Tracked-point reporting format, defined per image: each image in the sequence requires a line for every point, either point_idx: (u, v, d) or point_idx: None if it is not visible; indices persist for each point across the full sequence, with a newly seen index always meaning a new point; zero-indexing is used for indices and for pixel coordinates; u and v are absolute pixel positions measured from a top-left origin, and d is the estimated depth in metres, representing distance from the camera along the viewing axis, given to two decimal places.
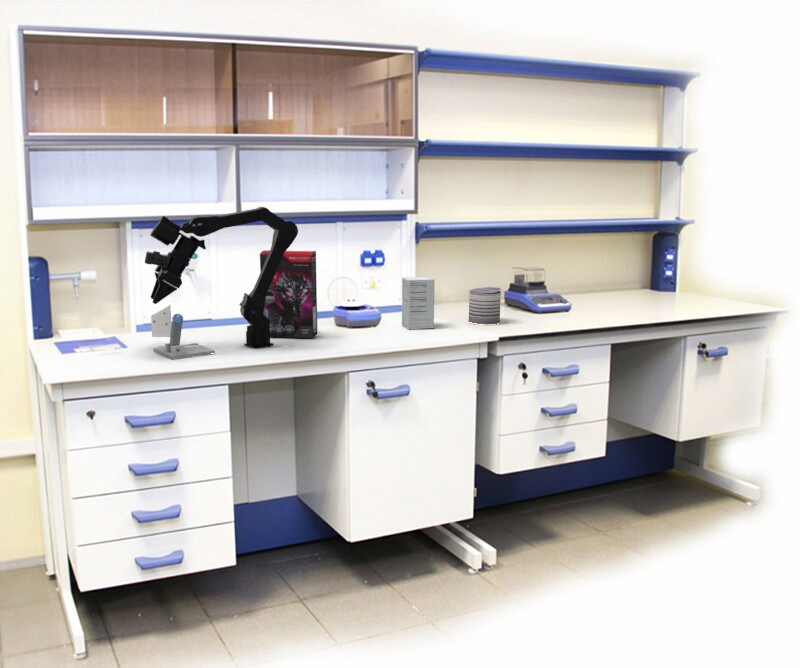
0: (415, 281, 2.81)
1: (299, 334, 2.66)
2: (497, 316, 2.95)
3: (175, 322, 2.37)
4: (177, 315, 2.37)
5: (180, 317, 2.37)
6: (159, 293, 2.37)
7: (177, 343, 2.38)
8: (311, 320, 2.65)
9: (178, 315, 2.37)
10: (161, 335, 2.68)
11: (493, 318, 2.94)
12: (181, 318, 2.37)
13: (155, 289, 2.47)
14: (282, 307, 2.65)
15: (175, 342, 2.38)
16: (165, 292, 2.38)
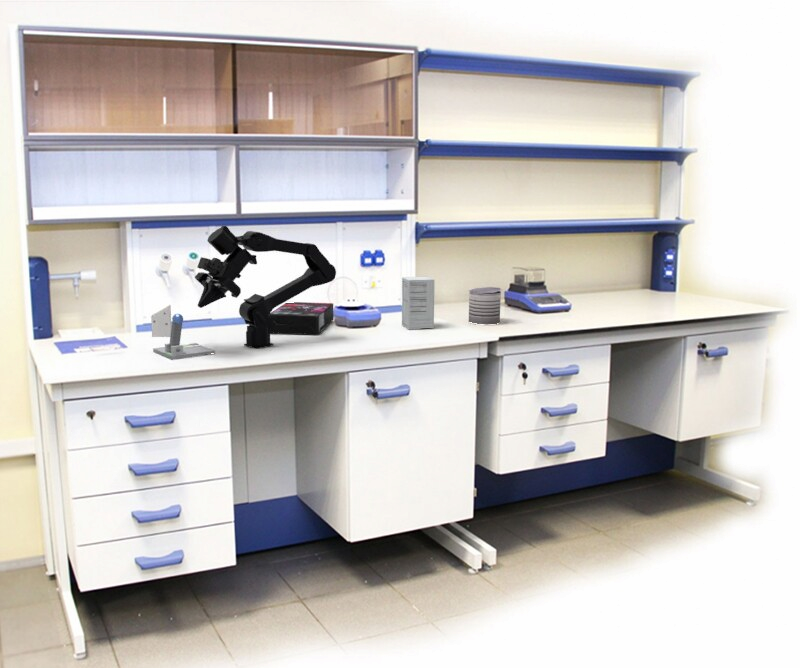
0: (415, 281, 2.81)
1: (304, 314, 2.73)
2: (497, 316, 2.95)
3: (175, 322, 2.37)
4: (177, 315, 2.37)
5: (180, 317, 2.37)
6: (207, 298, 2.41)
7: (177, 343, 2.38)
8: (319, 313, 2.77)
9: (178, 315, 2.37)
10: (161, 335, 2.68)
11: (493, 318, 2.94)
12: (181, 318, 2.37)
13: None
14: (295, 309, 2.81)
15: (175, 342, 2.38)
16: (213, 298, 2.42)
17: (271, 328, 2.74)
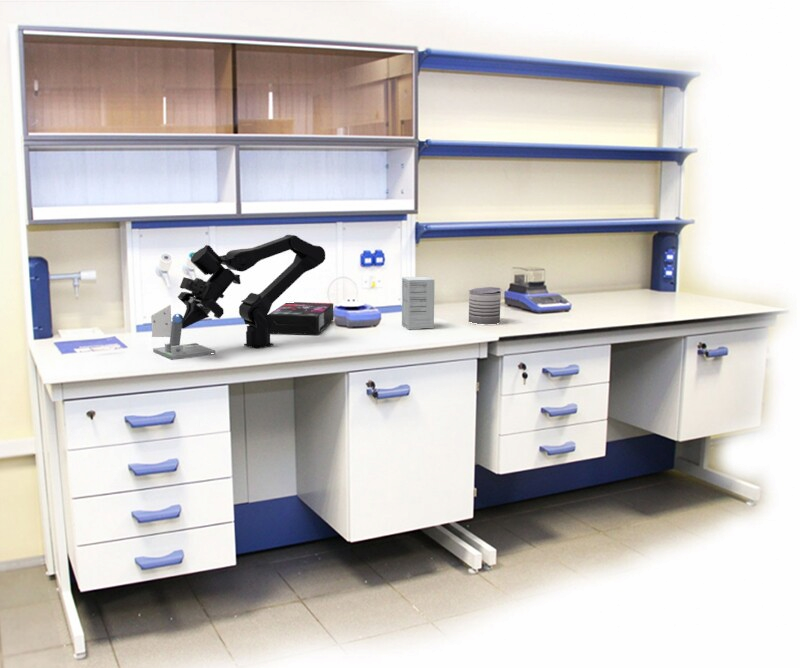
0: (415, 281, 2.81)
1: (304, 314, 2.73)
2: (497, 316, 2.95)
3: (175, 322, 2.37)
4: (177, 315, 2.37)
5: (180, 317, 2.37)
6: (190, 318, 2.39)
7: (177, 343, 2.38)
8: (319, 313, 2.77)
9: (178, 315, 2.37)
10: (161, 335, 2.68)
11: (493, 318, 2.94)
12: (181, 318, 2.37)
13: None
14: (295, 309, 2.81)
15: (175, 342, 2.38)
16: (196, 318, 2.40)
17: (271, 328, 2.74)
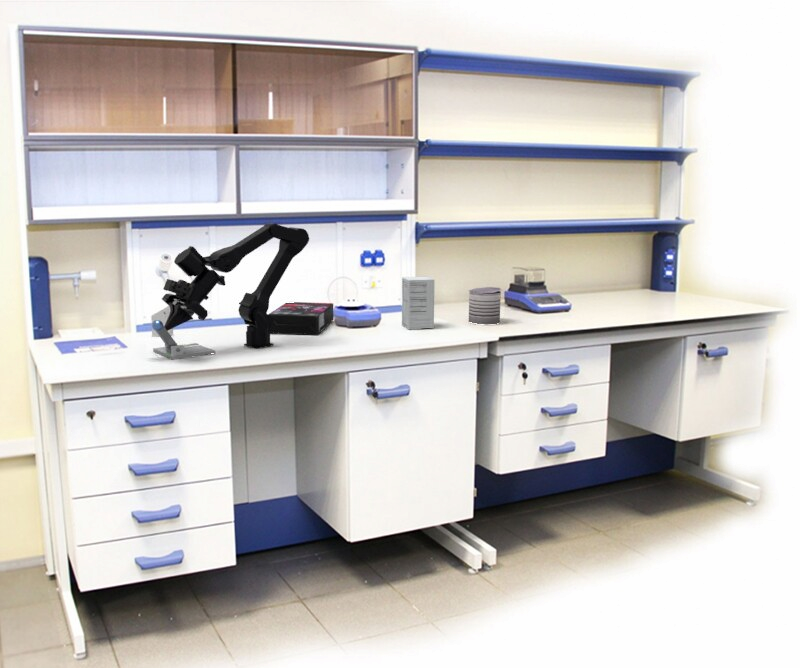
0: (415, 281, 2.81)
1: (304, 314, 2.73)
2: (497, 316, 2.95)
3: (158, 330, 2.34)
4: (154, 324, 2.33)
5: (158, 324, 2.33)
6: (174, 320, 2.36)
7: (173, 343, 2.37)
8: (319, 313, 2.77)
9: (155, 323, 2.33)
10: None
11: (493, 318, 2.94)
12: (160, 324, 2.34)
13: None
14: (295, 309, 2.81)
15: (171, 344, 2.37)
16: (180, 320, 2.37)
17: (271, 328, 2.74)
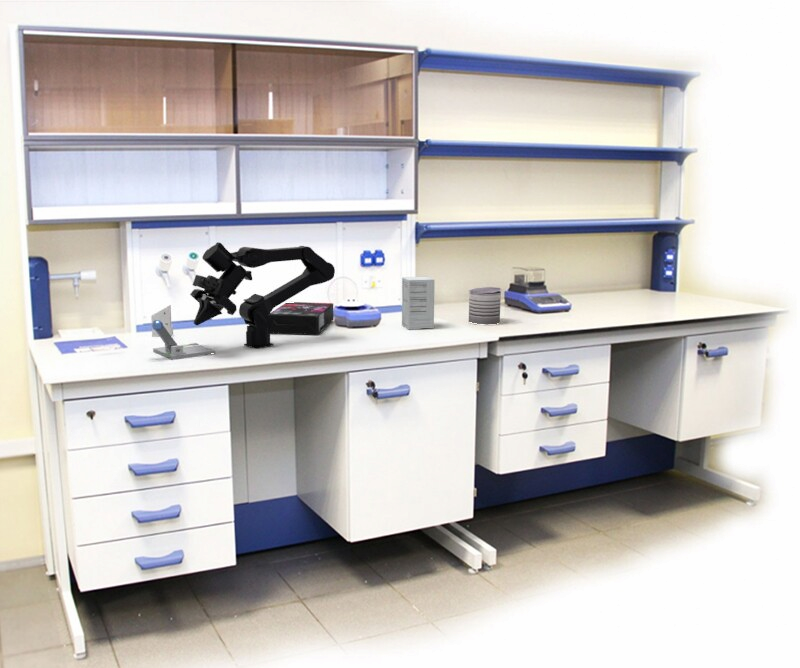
0: (415, 281, 2.81)
1: (304, 314, 2.73)
2: (497, 316, 2.95)
3: (158, 330, 2.34)
4: (154, 324, 2.33)
5: (158, 324, 2.33)
6: (203, 315, 2.41)
7: (173, 343, 2.37)
8: (319, 313, 2.77)
9: (155, 323, 2.33)
10: None
11: (493, 318, 2.94)
12: (160, 324, 2.34)
13: None
14: (295, 309, 2.81)
15: (171, 344, 2.37)
16: (209, 315, 2.42)
17: (271, 328, 2.74)
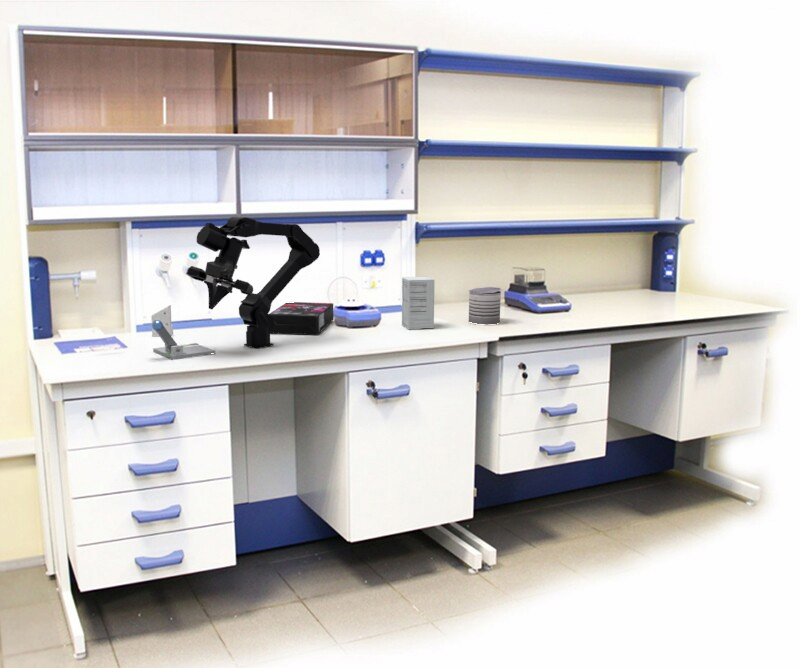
0: (415, 281, 2.81)
1: (304, 314, 2.73)
2: (497, 316, 2.95)
3: (158, 330, 2.34)
4: (154, 324, 2.33)
5: (158, 324, 2.33)
6: (218, 299, 2.41)
7: (173, 343, 2.37)
8: (319, 313, 2.77)
9: (155, 323, 2.33)
10: None
11: (493, 318, 2.94)
12: (160, 324, 2.34)
13: (212, 299, 2.41)
14: (295, 309, 2.81)
15: (171, 344, 2.37)
16: (221, 296, 2.43)
17: (271, 328, 2.74)
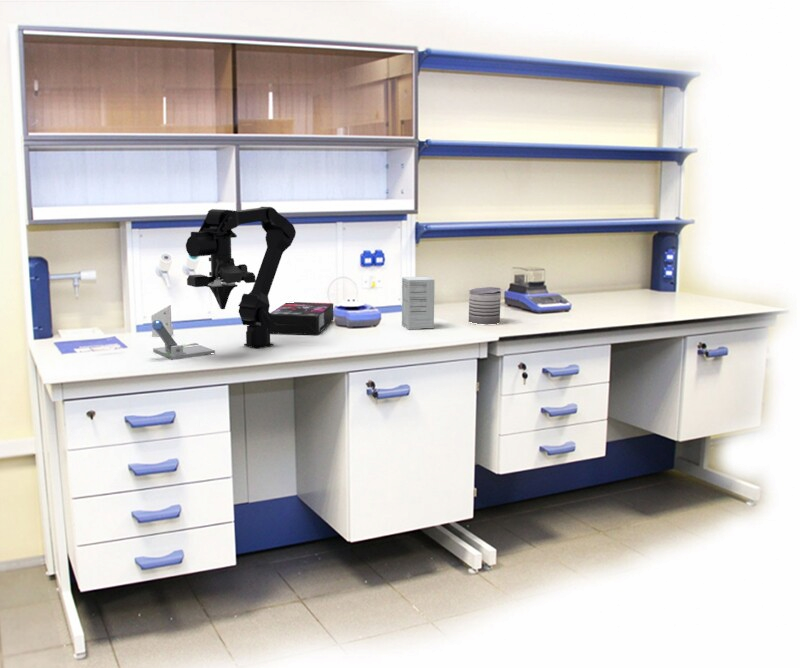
0: (415, 281, 2.81)
1: (304, 314, 2.73)
2: (497, 316, 2.95)
3: (158, 330, 2.34)
4: (154, 324, 2.33)
5: (158, 324, 2.33)
6: None
7: (173, 343, 2.37)
8: (319, 313, 2.77)
9: (155, 323, 2.33)
10: None
11: (493, 318, 2.94)
12: (160, 324, 2.34)
13: None
14: (295, 309, 2.81)
15: (171, 344, 2.37)
16: None
17: (271, 328, 2.74)
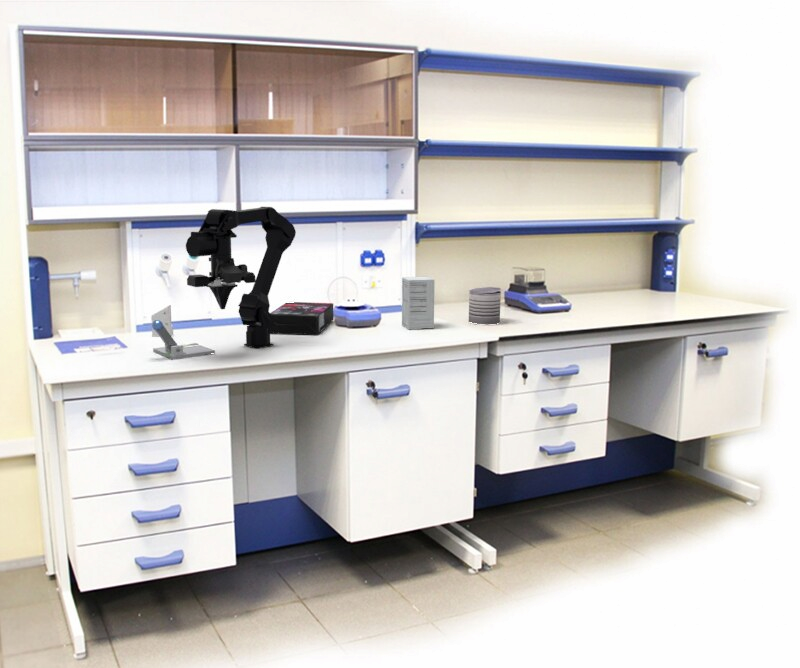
0: (415, 281, 2.81)
1: (304, 314, 2.73)
2: (497, 316, 2.95)
3: (158, 330, 2.34)
4: (154, 324, 2.33)
5: (158, 324, 2.33)
6: None
7: (173, 343, 2.37)
8: (319, 313, 2.77)
9: (155, 323, 2.33)
10: None
11: (493, 318, 2.94)
12: (160, 324, 2.34)
13: None
14: (295, 309, 2.81)
15: (171, 344, 2.37)
16: None
17: (271, 328, 2.74)
